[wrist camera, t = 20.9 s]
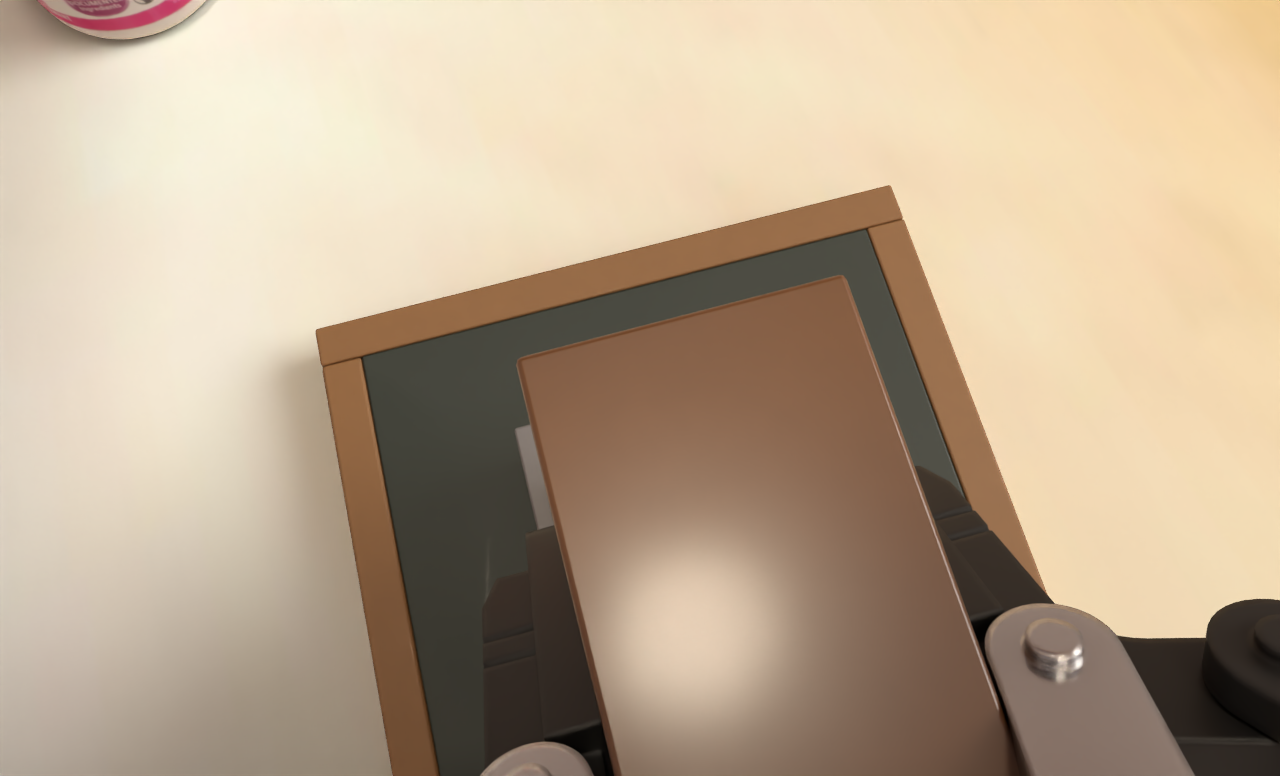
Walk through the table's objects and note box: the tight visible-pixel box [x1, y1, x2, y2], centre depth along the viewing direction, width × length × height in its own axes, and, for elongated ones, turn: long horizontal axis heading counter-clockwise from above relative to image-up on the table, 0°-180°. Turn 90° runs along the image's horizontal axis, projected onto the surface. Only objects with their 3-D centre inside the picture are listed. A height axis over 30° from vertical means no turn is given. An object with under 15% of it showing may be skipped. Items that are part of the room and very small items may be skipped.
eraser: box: [514, 275, 1020, 776], centre depth 12 cm, size 10×5×8 cm, turn 15°
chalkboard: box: [316, 185, 1047, 776], centre depth 16 cm, size 12×20×1 cm, turn 15°
